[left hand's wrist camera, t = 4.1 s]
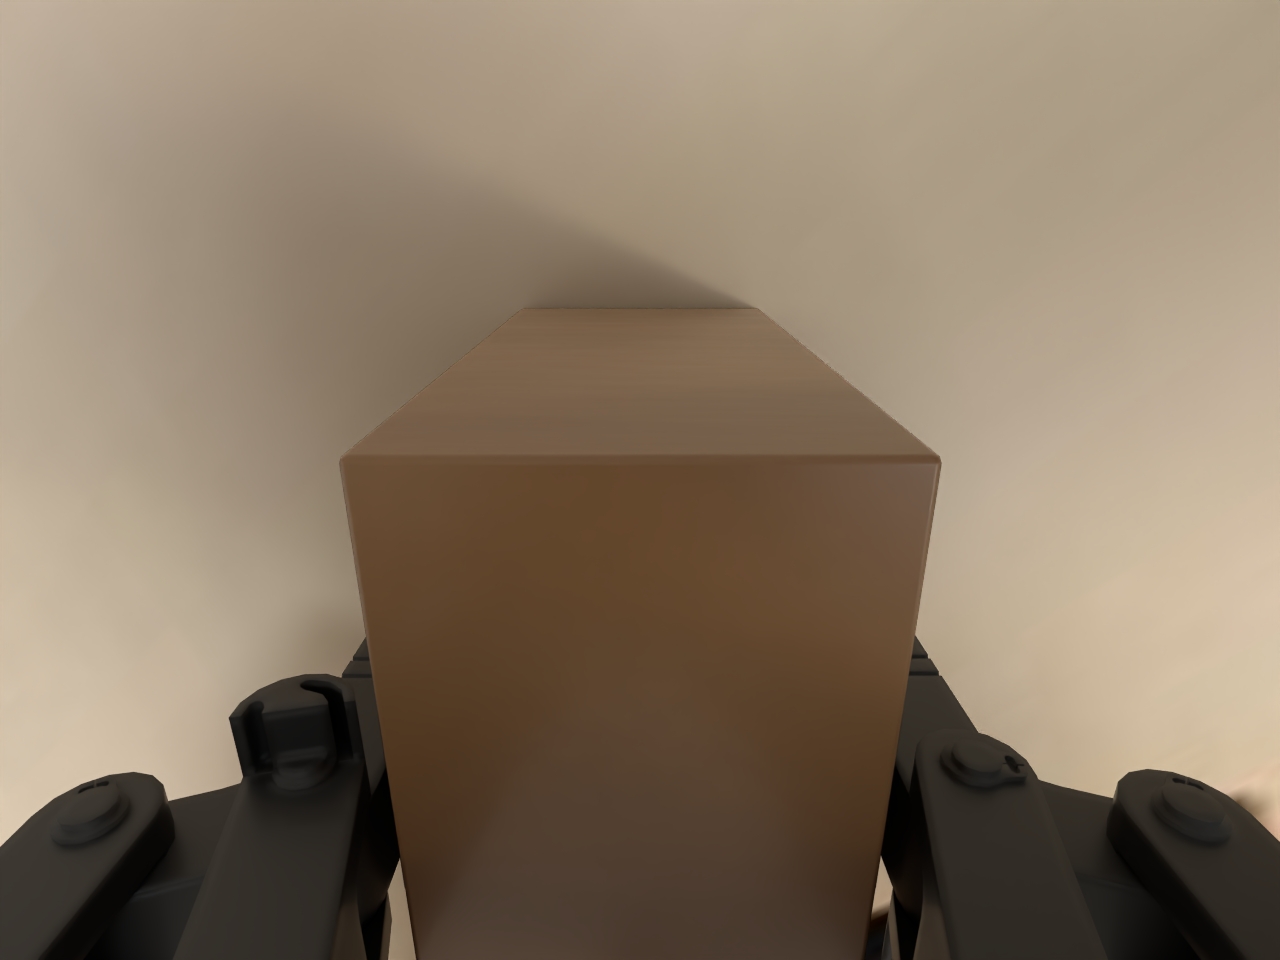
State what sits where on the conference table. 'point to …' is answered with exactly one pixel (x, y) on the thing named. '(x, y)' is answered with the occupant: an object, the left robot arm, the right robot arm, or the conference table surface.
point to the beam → (640, 638)
